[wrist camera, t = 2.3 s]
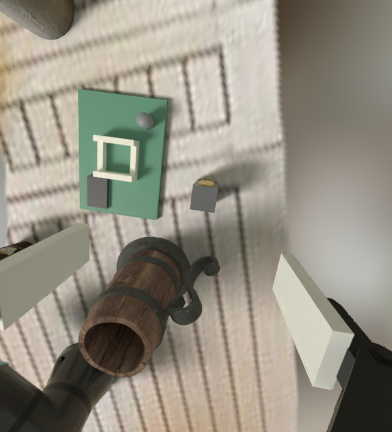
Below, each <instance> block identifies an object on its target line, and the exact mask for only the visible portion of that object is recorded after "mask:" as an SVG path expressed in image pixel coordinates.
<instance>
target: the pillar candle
mask: <svg viewBox="0 0 392 432" xmlns="http://www.w3.org/2000/svg"><path fill="white" fill-rule="evenodd" d="M0 11H1V12H2V13H4V14H5V15H7V16H8V17H10V18H11V19H13V20H14V21H16V22H17V23H19V24H20V25H22V26H23V27H25V28H26V29H28V30H30V31H31V32H33V33H34V34H36V35H38V36H39V37H41V38H45V39H49V40H52V39H58V38H60V37H61V36H63V35H64V34H65V33H66V32H67V31H68V29H69V27H70V25H71V23H72V19H73V11H74V6H73V0H0Z"/></svg>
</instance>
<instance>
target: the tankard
mask: <svg viewBox="0 0 392 432" xmlns="http://www.w3.org/2000/svg"><path fill="white" fill-rule="evenodd" d="M203 270H204V272H205V274H206V275H207V276H213V275H215V274H217V273H218V272H219V270H220V267H219V264H218V261H217V259H216V257H214V256H205V257H202V258H200V259H198V260H197V261H195V262H194V263H193V264H192V265H191V267H190V264H189V261H188V259H187V257H186V255H185V254H184V253H183V252H182V250H181V249H180V248H178V247H177V246H176V245H175V244H173V243H171V242H169V241H168V240H165V239H162V238H157V237H144V238H139V239H137V240H134V241H132V242H131V243H129V244H128V245H127V246H126V247H125V248H124V249H123V250H122V251H121V253H120V255H119V257H118V261H117V272H116V274H115V275H114V278H113V280H112V281H111V282H110V284H109V285H108V286H107V288H106V289H105V290H104V292H103V293H101V294H100V295H99V297H98V298H97V299H96V300H95V301H94V303H93V304H92V306H91V308H90V309H89V312H88V316H87V319H86V321H85V323H84V325H83V327H82V329H81V331H80V335H79V342H78V344H79V348H80V351H81V353H82V355H83V356H84V358H85V359H86V361H87V362H88V363H89V364H90V365H91V366H93V367H95V368H97V369H99V370H101V371H103V372H105V373H107V374H109V375H112V376H115V377H122V378H123V377H130V376H133V375H136V374H137V373H139V372H141V371H142V369H143V368H144V367H145V366H146V365H147V363H148V361H149V360H150V358H151V356H152V354H153V352H154V351H155V349H156V348H157V347H158V346H159V345H160V343H161V341H162V338H163V335H164V333H165V330H166V322H167V320H168V317H169V315H170V316H171V318H172V320H173V321H174V322H175V323H177V324H179V325H188V324H191V323H193V322H194V321H196V320H197V319H198V318H199V317H200V315H201V312H202V304H201V302H200V300H199V297H198V295H197V292H196V291H195V290H194V288H193V285H194V282H195V280H196V278H197V276H198V275H199V274H200V273H201V272H202V271H203ZM186 291H188V293H189V295H190V298H191V299H192V302H191V303H190V304H189V305H188V306H187V307H185V308H183V307H184V305H185V300H184V298H183V295H184V294H185V292H186Z"/></svg>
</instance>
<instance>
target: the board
mask: <svg viewBox="0 0 392 432" xmlns="http://www.w3.org/2000/svg"><path fill="white" fill-rule="evenodd" d="M78 106H79V178H80V209H86V210H93V211H100V212H106V213H113V214H119V215H126V216H133V217H139V218H146V219H153V220H157V219H158V211H159V199H160V188H161V176H162V165H163V153H164V142H165V130H166V119H167V107H168V101H167V100H161V99H153V98H145V97H137V96H129V95H121V94H113V93H105V92H97V91H89V90H81V89H78Z"/></svg>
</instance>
